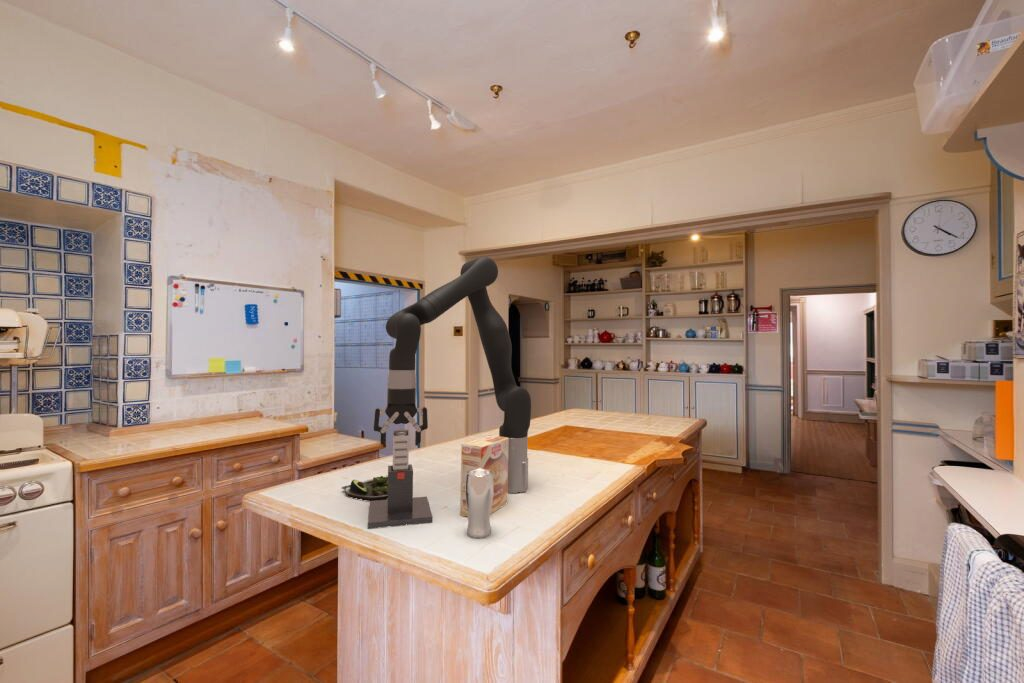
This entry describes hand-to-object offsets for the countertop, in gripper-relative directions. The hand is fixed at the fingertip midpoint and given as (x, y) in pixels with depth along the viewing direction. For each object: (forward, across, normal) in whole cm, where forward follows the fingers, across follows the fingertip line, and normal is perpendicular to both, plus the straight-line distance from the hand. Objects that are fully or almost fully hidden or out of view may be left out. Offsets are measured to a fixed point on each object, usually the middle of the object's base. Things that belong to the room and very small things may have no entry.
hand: (400, 445), depth 122 cm
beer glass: (+19, -19, +17) cm, 32 cm away
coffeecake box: (+19, -24, +2) cm, 30 cm away
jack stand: (+19, 0, 0) cm, 19 cm away
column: (+17, 0, 0) cm, 17 cm away
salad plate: (+19, +7, -21) cm, 29 cm away
